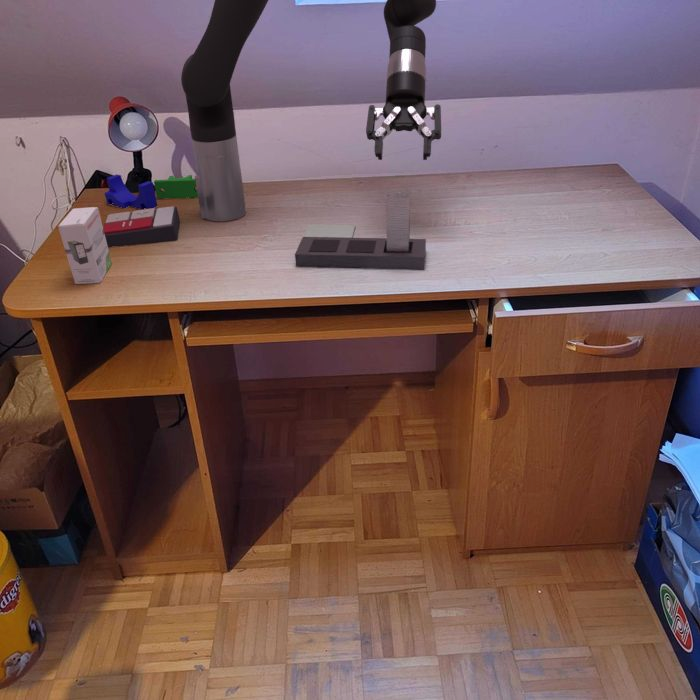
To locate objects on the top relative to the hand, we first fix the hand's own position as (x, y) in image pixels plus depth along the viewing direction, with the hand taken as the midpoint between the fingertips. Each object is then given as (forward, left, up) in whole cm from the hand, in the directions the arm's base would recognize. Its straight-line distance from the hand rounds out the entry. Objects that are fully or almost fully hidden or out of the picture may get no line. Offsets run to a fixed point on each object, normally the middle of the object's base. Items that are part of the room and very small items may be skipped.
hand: (402, 158), depth 127 cm
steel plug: (0, -10, -16) cm, 19 cm away
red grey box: (-55, -1, -17) cm, 58 cm away
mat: (-15, 0, -16) cm, 22 cm away
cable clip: (-64, +15, -17) cm, 68 cm away
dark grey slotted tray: (-7, -10, -16) cm, 20 cm away
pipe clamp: (-54, +22, -17) cm, 60 cm away
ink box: (-57, -19, -16) cm, 62 cm away
